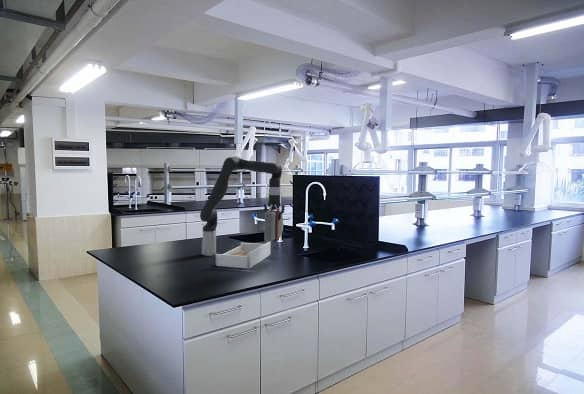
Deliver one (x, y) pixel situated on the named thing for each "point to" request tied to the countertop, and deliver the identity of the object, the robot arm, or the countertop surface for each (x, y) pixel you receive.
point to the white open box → (252, 258)
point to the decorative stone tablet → (273, 226)
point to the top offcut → (241, 253)
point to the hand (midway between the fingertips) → (274, 219)
